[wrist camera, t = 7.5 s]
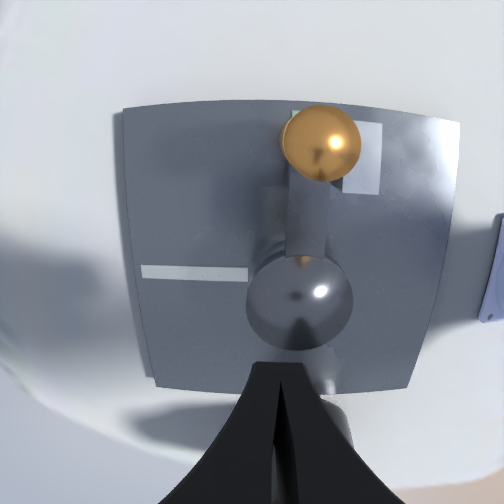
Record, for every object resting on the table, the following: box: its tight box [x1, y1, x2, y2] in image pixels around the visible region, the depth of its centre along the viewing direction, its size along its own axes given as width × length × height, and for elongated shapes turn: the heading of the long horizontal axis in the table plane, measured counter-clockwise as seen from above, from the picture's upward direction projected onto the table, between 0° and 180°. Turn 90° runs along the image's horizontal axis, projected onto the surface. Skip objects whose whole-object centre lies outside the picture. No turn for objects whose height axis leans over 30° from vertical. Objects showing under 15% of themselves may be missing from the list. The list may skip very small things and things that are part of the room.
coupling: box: [246, 105, 361, 351], centre depth 13 cm, size 11×5×4 cm, turn 179°
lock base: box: [123, 100, 459, 395], centre depth 16 cm, size 18×18×4 cm
